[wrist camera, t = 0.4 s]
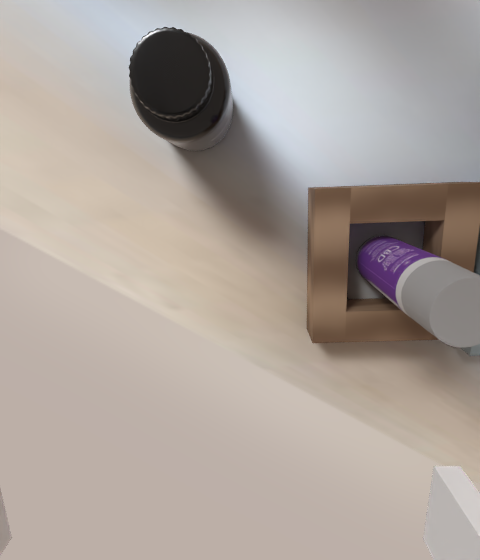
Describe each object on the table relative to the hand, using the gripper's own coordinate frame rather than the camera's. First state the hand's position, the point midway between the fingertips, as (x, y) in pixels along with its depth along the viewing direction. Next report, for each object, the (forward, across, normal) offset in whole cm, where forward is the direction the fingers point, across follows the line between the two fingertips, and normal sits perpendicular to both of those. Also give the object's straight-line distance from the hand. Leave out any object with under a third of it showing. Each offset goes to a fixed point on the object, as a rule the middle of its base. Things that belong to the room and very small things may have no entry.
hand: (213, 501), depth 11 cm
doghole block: (+27, +14, +1) cm, 30 cm away
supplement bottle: (+27, -3, +15) cm, 31 cm away
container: (+27, +14, +1) cm, 30 cm away
